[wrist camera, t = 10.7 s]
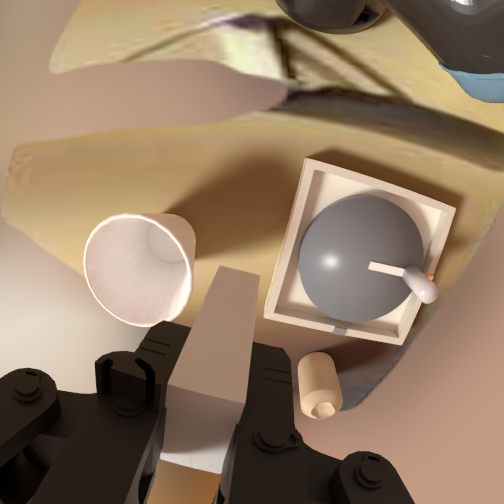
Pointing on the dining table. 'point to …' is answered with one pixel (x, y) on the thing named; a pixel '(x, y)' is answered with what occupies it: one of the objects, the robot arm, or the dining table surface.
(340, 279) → the dial
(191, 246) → the cup
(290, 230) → the dial plate
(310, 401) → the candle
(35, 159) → the dining table surface
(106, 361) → the robot arm
